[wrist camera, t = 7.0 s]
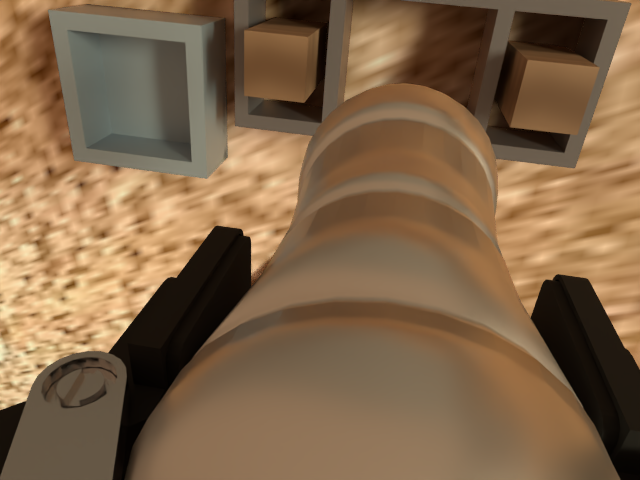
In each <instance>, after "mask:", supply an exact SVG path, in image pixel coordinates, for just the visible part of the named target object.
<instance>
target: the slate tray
mask: <svg viewBox="0 0 640 480" xmlns="http://www.w3.org/2000/svg"><path fill="white" fill-rule="evenodd" d="M48 12H49V18H50V24H51V30H52V35H53V41H54V47H55V52H56V58H57V64H58V70H59V75H60V81H61V87H62V93H63V98H64V104H65V110H66V115H67V121H68V127H69V133H70V138H71V144H72V150H73V156H74V161H81V162H89V163H96V164H103V165H111V166H118V167H125V168H133V169H140V170H147V171H154V172H162V173H169V174H176V175H184V176H191V177H198V178H206V179H207V178H208V177H209V176H210V175H211V174H212V173H213V172H214V171H215V170H216V169H217V168H218V167H219V166H220V165H221V164H222V163H223V162H224V160H225V159H226V158H227V157H228V153H227V95H226V36H225V18H219V17H209V16H199V15H189V14H179V13H170V12H160V11H150V10H140V9H130V8H120V7H110V6H100V5H91V4H86V5H79V6H72V7H64V8H57V9H50V10H48Z"/></svg>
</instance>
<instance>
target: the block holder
mask: <svg viewBox="0 0 640 480" xmlns="http://www.w3.org/2000/svg"><path fill="white" fill-rule="evenodd" d="M403 1H414V2H425V3H435V4H446V5H457V6H467V7H478V8H489V9H488V13H487V18H486V22H485V27H484V32H483V36H482V41H481V45H480V50H479V55H478V59H477V64H476V68H475V73H474V78H473V82H472V87H471V91H470V96H469V101H468V105H467V110H468V111H469V112H470V113H471V114H472V115H473V116H474V117H475V118H476V119H477V120H478V121H479V122H480V124H481V126H482V127H483V129H484V131H485V132H486V134H487V135H488V137H489V139H490V142H491V145H492V148H493V151H494V154H495V157H496V159H503V160H511V161H519V162H527V163H535V164H543V165H551V166H559V167H567V168H575V167H576V164H577V161H578V158H579V155H580V152H581V149H582V146H583V143H584V140H585V137H586V134H587V131H588V129H589V126H590V123H591V120H592V117H593V114H594V111H595V108H596V105H597V102H598V99H599V96H600V93H601V91H602V88H603V85H604V82H605V79H606V76H607V73H608V70H609V67H610V64H611V61H612V58H613V56H614V53H615V50H616V47H617V44H618V41H619V38H620V35H621V32H622V29H623V26H624V23H625V20H626V18H627V15H628V12H629V9H630V6H631V3H628V2H623V1H619V0H403ZM352 10H353V0H331V7H330V20H329V33H328V46H327V59H326V72H325V86H324V99H323V107H321V106H312V105H304V104H295V103H287V102H278V101H270V100H264V98H259V97H251V96H244V30H246V29H249V28H251V27H253V26H256V25H258V24H261V23H263V22H265V15H266V0H234V64H235V126H238V127H246V128H254V129H262V130H270V131H278V132H286V133H294V134H302V135H310V136H313V135H314V134H315V132H316V130H317V128H318V127H319V126H320V125H321V123H322V122H323V121H324V120H325V119H326V118H327V116H328V115H329V114H330V113H331V112H332V111H334V110H335V109H336V108H337V107H339V106H340V105H341V104H343V103H344V93H345V83H346V73H347V62H348V52H349V42H350V31H351V21H352ZM515 11H521V12H531V13H542V14H553V15H563V16H574V17H585V20H584V23H583V26H582V29H581V33H580V36H579V39H578V42H577V46H576V49H575V53H577V54H578V55H580V56H582V57H583V58H585V59H587V60H588V61H590V62H592V63H593V64H595V65H597V66H598V67H600V68H599V71H598V74H597V77H596V80H595V83H594V86H593V89H592V92H591V95H590V98H589V101H588V104H587V107H586V110H585V113H584V116H583V119H582V122H581V125H580V128H579V131H578V134H577V135H571V134H563V133H555V132H550V134H549V133H541V132H532V131H524V130H515V129H507V128H499V127H490V126H487V125H488V121H489V117H490V113H491V109H492V104H493V100H494V96H495V92H496V88H497V84H498V79H499V75H500V71H501V67H502V63H503V59H504V55H505V50H506V46H507V42H508V38H509V34H510V30H511V26H512V21H513V17H514V13H515Z"/></svg>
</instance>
